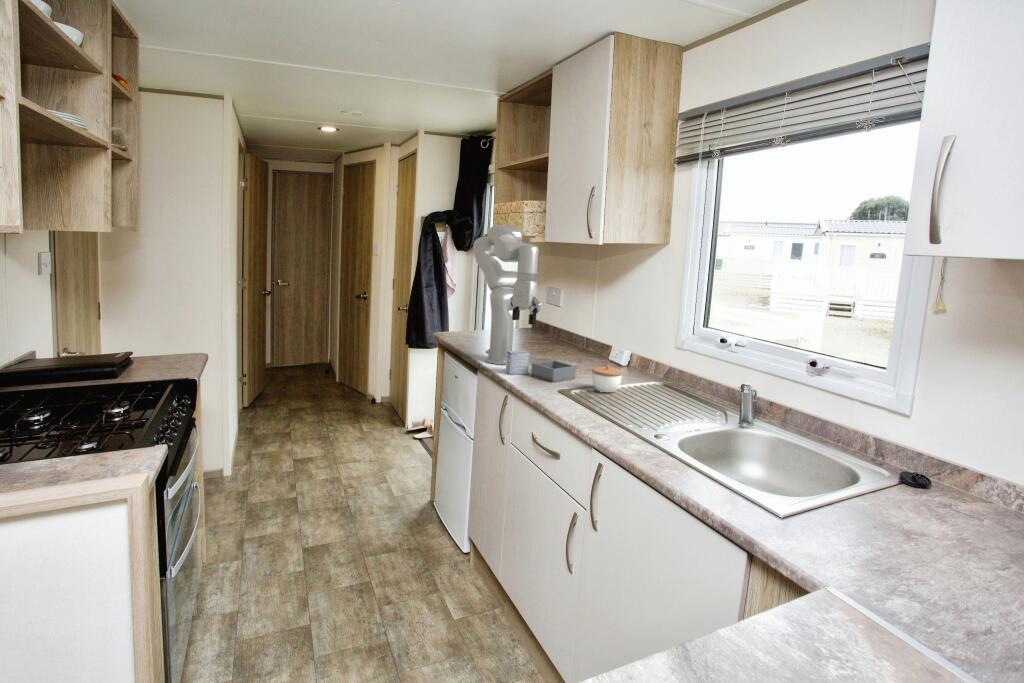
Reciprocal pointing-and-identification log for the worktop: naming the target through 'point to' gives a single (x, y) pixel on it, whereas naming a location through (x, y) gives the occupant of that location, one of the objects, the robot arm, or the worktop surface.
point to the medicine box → (517, 362)
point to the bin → (553, 371)
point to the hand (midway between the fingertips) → (523, 322)
